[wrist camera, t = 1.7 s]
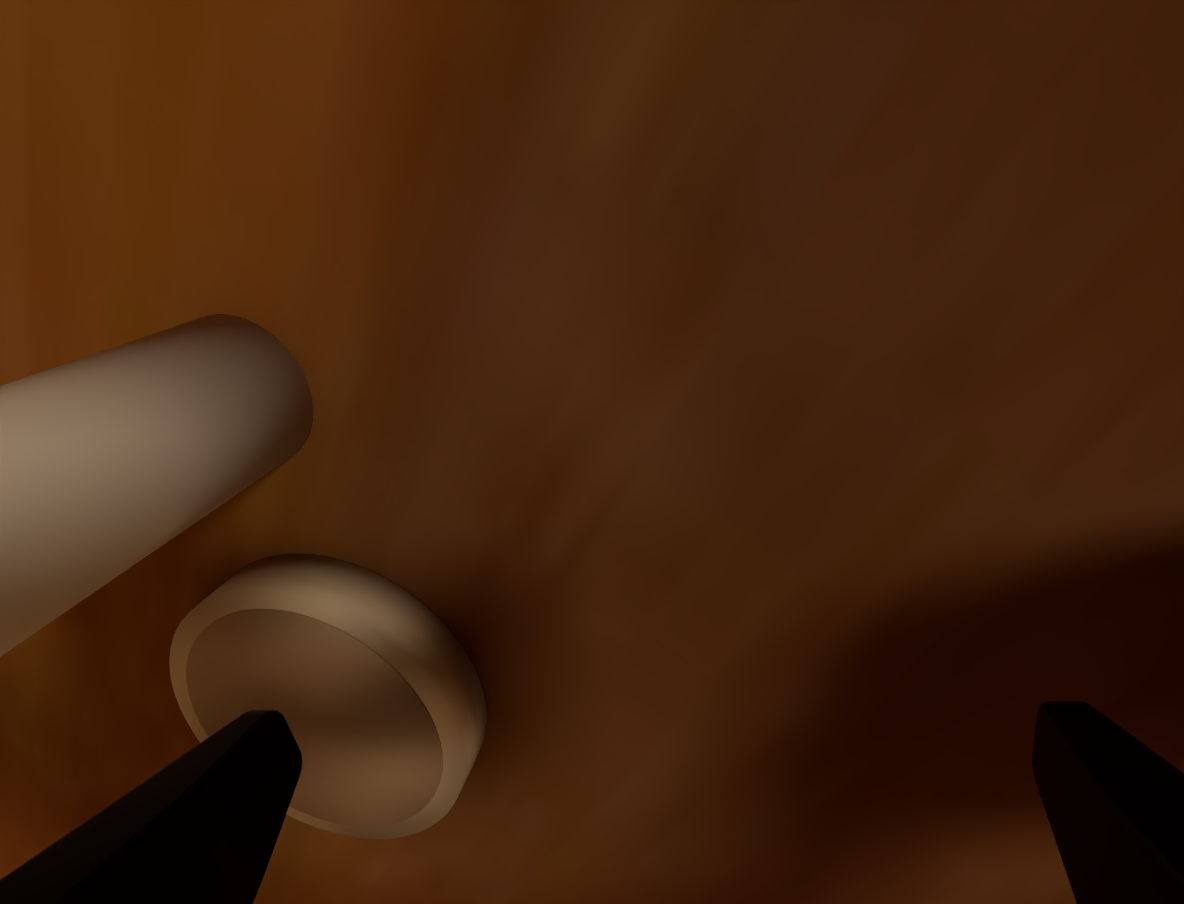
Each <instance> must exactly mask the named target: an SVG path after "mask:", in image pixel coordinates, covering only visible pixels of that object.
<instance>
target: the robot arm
mask: <svg viewBox="0 0 1184 904" xmlns="http://www.w3.org/2000/svg"><path fill="white" fill-rule="evenodd" d="M1032 766H1033V772H1034V777H1035V780H1036V784H1037V787H1038V790H1039V793H1040V796H1041V799H1042V802H1043V805H1044V808H1045V810H1046V813H1047V816H1048V819H1049V822H1050V825H1051V828H1052V831H1053V834H1054V837H1055V840H1056V843H1057V846H1058V849H1059V852H1060V855H1061V858H1062V861H1063V864H1064V867H1065V870H1066V873H1067V876H1068V879H1069V882H1070V885H1071V888H1072V891H1073V894H1074V897H1075V900H1076V903H1077V904H1184V773H1182V772H1181V771H1180V770H1178V769H1177V768H1176V767H1174V766H1173V765H1171V764H1170V763H1169V762H1167V761H1166V760H1165V759H1163V758H1162V757H1161V756H1159V755H1158V754H1157V753H1155V752H1154V751H1153V750H1151V749H1150V748H1148V747H1147V746H1146V745H1144V744H1143V743H1142V742H1140V741H1139V740H1138V739H1136V738H1135V737H1134V736H1132V735H1131V734H1130V733H1128V732H1127V731H1126V730H1124V729H1123V728H1121V727H1120V726H1119V725H1117V724H1116V723H1115V722H1113V721H1112V720H1111V719H1109V718H1108V717H1107V716H1105V715H1104V714H1103V713H1101V712H1100V711H1098V710H1097V709H1096V708H1094V707H1093V706H1091V705H1089V704H1087V703H1085V702H1081V701H1048V702H1044V703H1042V704H1041V705H1040V707H1039V709H1038V713H1037V720H1036V728H1035V737H1034V745H1033V753H1032ZM301 770H302V754H301V751H300V749H299V747H298V744H297V742H296V740H295V738H294V736H293V734H292V732H291V730H290V728H289V725H288V723H287V721H286V719H285V717H284V716H283V714H282V713H280V712H279V711H277V710H251V711H247V712H245V713H243V714H242V715H240V716H239V717H237V718H236V719H234V720H233V721H231V722H230V723H229V724H227V725H226V726H224V727H223V728H221V729H220V730H218V731H217V732H215V733H214V734H213V735H211V736H210V737H208V738H207V739H205V740H204V741H202V742H201V743H199V744H198V745H196V746H195V747H194V748H192V749H191V750H189V751H188V752H186V753H185V754H183V755H182V756H180V757H179V758H177V759H176V760H175V761H173V762H172V763H170V764H169V765H167V766H166V767H164V768H163V769H161V770H160V771H158V772H157V773H156V774H154V775H153V776H151V777H150V778H148V779H147V780H145V781H144V782H142V783H141V784H139V785H138V786H137V787H135V788H134V789H132V790H131V791H129V792H128V793H126V794H125V795H123V796H122V797H121V798H119V799H118V800H116V801H115V802H113V803H112V804H110V805H109V806H107V807H106V808H104V809H103V810H102V811H100V812H99V813H97V814H96V815H94V816H93V817H91V818H90V819H88V820H87V821H85V822H84V823H83V824H81V825H80V826H78V827H77V828H75V829H74V830H72V831H71V832H69V833H68V834H66V835H65V836H64V837H62V838H61V839H59V840H58V841H56V842H55V843H53V844H52V845H50V846H49V847H47V848H46V849H45V850H43V851H42V852H40V853H39V854H37V855H36V856H34V857H33V858H31V859H30V860H28V861H27V862H26V863H24V864H23V865H21V866H20V867H18V868H17V869H15V870H14V871H12V872H11V873H10V874H8V875H7V876H5V877H4V878H2V879H1V880H0V904H253V901H254V899H255V897H256V894H257V892H258V889H259V887H260V884H261V882H262V879H263V877H264V874H265V871H266V869H267V866H268V863H269V860H270V858H271V855H272V852H273V849H274V847H275V844H276V841H277V838H278V835H279V833H280V830H281V827H282V824H283V822H284V819H285V816H286V813H287V811H288V808H289V805H290V802H291V800H292V797H293V794H294V791H295V788H296V786H297V783H298V780H299V777H300V774H301Z"/></svg>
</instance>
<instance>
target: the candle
mask: <svg viewBox="0 0 1184 904" xmlns="http://www.w3.org/2000/svg"><path fill="white" fill-rule="evenodd" d="M312 422H313V404H312V398H311V393H310V389H309V386H308V383H307V381H306V379H305V376H304V374H303V372H302V370H301V368H300V367H299V365H298V363H297V362H296V360H295V359H294V357H293V356H292V355H291V353H290V352H289V351H288V350H287V349H286V347H285V346H284V345H283V344H282V343H281V342H280V341H279V340H278V339H277V338H275V337H274V336H273V335H272V334H270V333H269V332H268V331H267V330H265V329H264V328H262V327H260V326H259V325H257V324H255V323H253V322H251V321H249V320H246V319H244V318H240V317H237V316H233V315H227V314H215V315H208V316H205V317H201V318H198V319H196V320H193V321H190V322H187V323H184V324H181V325H178V326H175V327H172V328H169V329H166V330H163V331H160V332H157V333H155V334H152V335H149V336H146V337H143V338H140V339H137V340H134V341H131V342H128V343H125V344H122V345H119V346H117V347H114V348H111V349H108V350H105V351H102V352H99V353H96V354H93V355H90V356H87V357H84V358H81V359H78V360H76V361H73V362H70V363H67V364H64V365H61V366H58V367H55V368H52V369H49V370H46V371H43V372H40V373H38V374H35V375H32V376H29V377H26V378H23V379H20V380H17V381H14V382H11V383H8V384H5V385H2V386H0V657H1V656H2V655H4V654H5V653H7V652H8V651H9V650H11V649H12V648H14V647H15V646H17V645H18V644H20V643H21V642H23V641H24V640H25V639H27V638H28V637H30V636H31V635H33V634H34V633H36V632H37V631H39V630H40V629H42V628H43V627H44V626H46V625H47V624H49V623H50V622H52V621H53V620H55V619H56V618H58V617H59V616H60V615H62V614H63V613H65V612H66V611H68V610H69V609H71V608H72V607H74V606H75V605H76V604H78V603H79V602H81V601H82V600H84V599H85V598H87V597H88V596H90V595H91V594H92V593H94V592H95V591H97V590H98V589H100V588H101V587H103V586H104V585H106V584H107V583H108V582H110V581H111V580H113V579H114V578H116V577H117V576H119V575H120V574H122V573H123V572H125V571H126V570H127V569H129V568H130V567H132V566H133V565H135V564H136V563H138V562H139V561H141V560H142V559H143V558H145V557H146V556H148V555H149V554H151V553H152V552H154V551H155V550H157V549H158V548H159V547H161V546H162V545H164V544H165V543H167V542H168V541H170V540H171V539H173V538H174V537H175V536H177V535H178V534H180V533H181V532H183V531H184V530H186V529H187V528H189V527H190V526H191V525H193V524H194V523H196V522H197V521H199V520H200V519H202V518H203V517H205V516H206V515H208V514H209V513H210V512H212V511H213V510H215V509H216V508H218V507H219V506H221V505H222V504H224V503H225V502H226V501H228V500H229V499H231V498H232V497H234V496H235V495H237V494H238V493H240V492H241V491H242V490H244V489H245V488H247V487H248V486H250V485H251V484H253V483H254V482H256V481H257V480H258V479H260V478H261V477H263V476H264V475H266V474H267V473H269V472H270V471H272V470H273V469H274V468H276V467H277V466H279V465H280V464H282V463H283V462H285V461H286V460H288V459H289V458H291V457H292V456H293V455H295V454H296V453H297V452H298V451H299V450H300V449H301V448H302V447H303V445H304V444H305V442H306V441H307V439H308V437H309V434H310V431H311V428H312Z"/></svg>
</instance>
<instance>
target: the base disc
mask: <svg viewBox="0 0 1184 904" xmlns="http://www.w3.org/2000/svg"><path fill="white" fill-rule="evenodd" d="M169 667H170V678H171V682H172V686H173V690H174V694H175V697H176V699H177V702H178V705H179V707H180V709H181V711H182V713H183V715H184V717H185V719H186V721H187V723H188V725H189V726H190V728H191V730H192V731H193V733H194V734H195V736H196V737H197V739H198V740H199V741H200V743H201V742H202V741H204V740H205V739H207V738H208V737H210V736H211V735H213V734H214V733H215V732H217V731H218V730H220V729H221V728H223V727H224V726H226V725H227V724H229V723H230V722H231V721H233V720H234V719H236V718H237V717H239V716H240V715H242V714H243V713H245V712H247V711H251V710H277V711H279V712H280V713H282V714H283V716H284V717H285V719H286V721H287V723H288V725H289V728H290V730H291V732H292V734H293V736H294V738H295V740H296V742H297V744H298V747H299V749H300V751H301V754H302V770H301V774H300V777H299V780H298V783H297V786H296V788H295V791H294V794H293V797H292V800H291V802H290V805H289V808H288V811H287V813H286V815H288V816H290V817H292V818H294V819H296V820H299V821H301V822H303V823H306V824H308V825H311V826H313V827H316V828H319V829H322V830H325V831H329V832H332V833H336V834H340V835H345V836H349V837H356V838H364V839H390V838H400V837H404V836H408V835H412V834H415V833H418V832H420V831H423V830H425V829H427V828H429V827H430V826H432V825H434V824H435V823H437V822H438V821H439V820H440V819H442V818H443V817H444V816H445V815H446V814H447V813H448V812H449V810H450V809H451V807H452V806H453V805H454V803H455V802H456V800H457V798H458V796H459V793H460V791H461V789H462V787H463V785H464V783H465V781H466V779H467V777H468V775H469V773H470V771H471V769H472V766H473V764H474V762H475V760H476V758H477V756H478V754H479V752H480V749H481V747H482V745H483V742H484V738H485V733H486V729H487V709H486V702H485V696H484V693H483V689H482V686H481V682H480V680H479V677H478V675H477V673H476V670H475V668H474V666H473V664H472V662H471V660H470V659H469V657H468V655H467V654H466V652H465V650H464V648H463V647H462V646H461V644H460V643H459V642H458V640H457V639H456V638H455V636H454V635H453V634H452V632H451V631H450V630H449V629H448V628H447V627H446V626H445V625H444V623H443V622H442V621H441V620H440V619H439V618H438V617H437V616H436V615H435V614H434V613H433V612H432V611H430V610H429V609H428V608H427V607H426V606H425V605H424V604H423V603H421V602H420V601H419V600H418V599H416V598H415V597H414V596H412V595H411V594H409V593H408V592H407V591H405V590H404V589H403V588H401V587H399V586H398V585H396V584H394V583H393V582H391V581H389V580H387V579H386V578H384V577H382V576H380V575H378V574H376V573H374V572H372V571H369V570H367V569H365V568H363V567H360V566H357V565H354V564H351V563H349V562H346V561H343V560H338V559H334V558H330V557H326V556H319V555H310V554H284V555H277V556H271V557H267V558H264V559H261V560H258V561H255V562H253V563H251V564H249V565H247V566H245V567H244V568H242V569H241V570H239V571H238V572H237V573H236V574H234V575H233V576H232V577H231V578H229V579H228V580H227V581H226V582H225V583H223V584H222V585H221V586H220V587H219V588H217V589H216V590H215V591H214V592H213V593H211V594H210V595H209V596H208V597H206V598H205V599H204V600H203V601H202V602H200V603H199V604H198V605H197V606H196V607H194V608H193V609H192V610H191V611H190V612H188V614H187V615H186V616H185V617H184V619H183V620H182V621H181V622H180V624H179V626H178V628H177V630H176V632H175V634H174V636H173V640H172V644H171V647H170V658H169Z"/></svg>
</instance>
